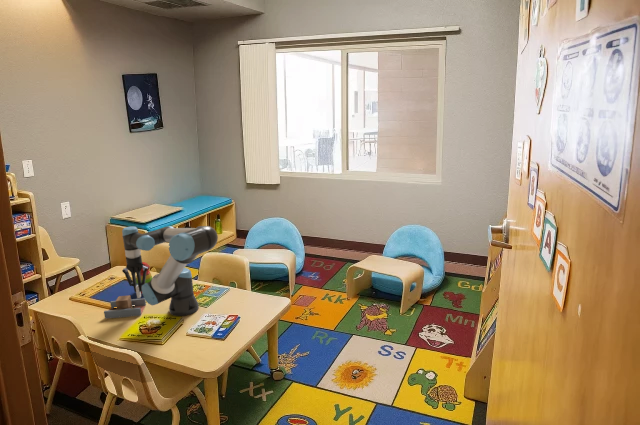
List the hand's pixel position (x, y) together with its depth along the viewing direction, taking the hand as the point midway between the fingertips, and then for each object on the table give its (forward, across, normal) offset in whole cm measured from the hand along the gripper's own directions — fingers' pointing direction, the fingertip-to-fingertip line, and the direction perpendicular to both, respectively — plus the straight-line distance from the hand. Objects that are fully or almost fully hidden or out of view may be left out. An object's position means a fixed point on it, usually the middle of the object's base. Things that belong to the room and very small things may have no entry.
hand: (139, 296), depth 247 cm
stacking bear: (+8, +3, -26) cm, 27 cm away
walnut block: (+8, +8, 0) cm, 11 cm away
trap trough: (+8, +8, 0) cm, 11 cm away
